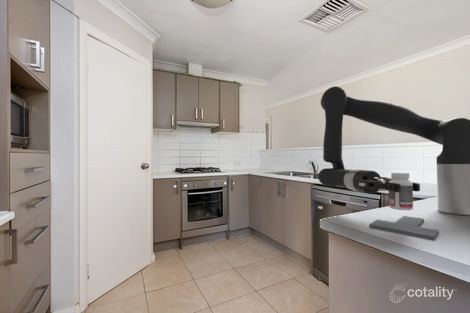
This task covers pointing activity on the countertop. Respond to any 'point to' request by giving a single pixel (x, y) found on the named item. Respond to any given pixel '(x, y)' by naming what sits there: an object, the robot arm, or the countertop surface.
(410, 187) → the pill bottle
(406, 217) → the t mat
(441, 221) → the countertop surface
